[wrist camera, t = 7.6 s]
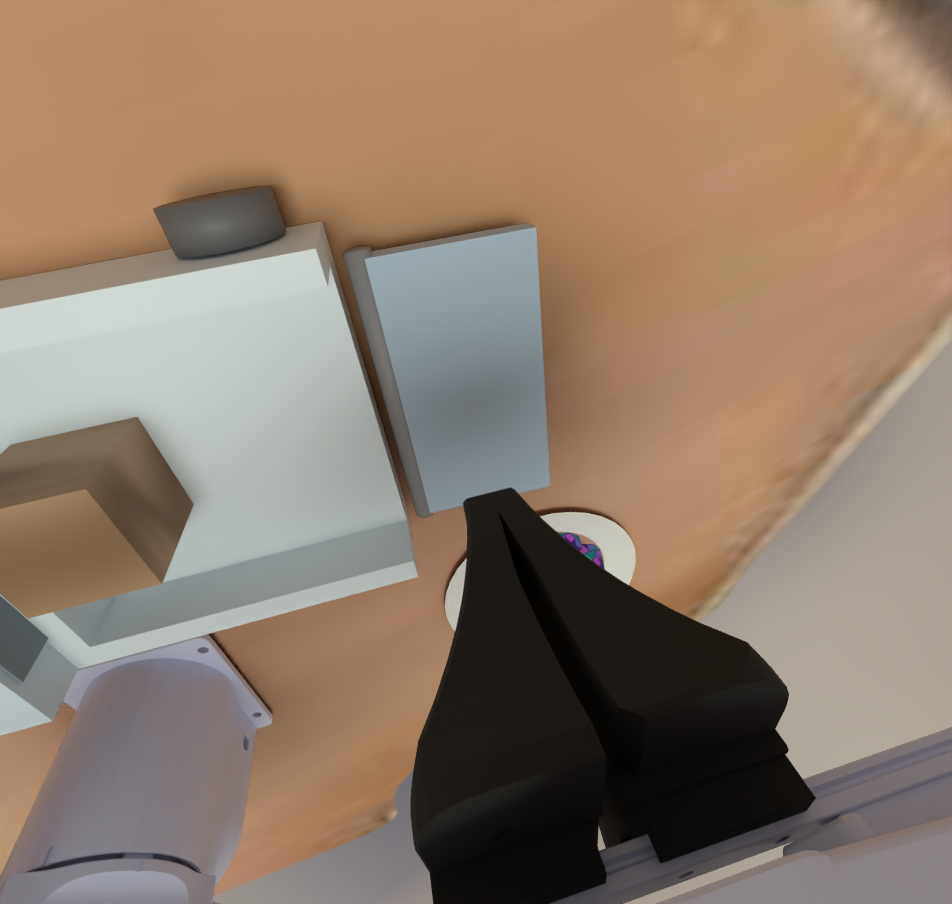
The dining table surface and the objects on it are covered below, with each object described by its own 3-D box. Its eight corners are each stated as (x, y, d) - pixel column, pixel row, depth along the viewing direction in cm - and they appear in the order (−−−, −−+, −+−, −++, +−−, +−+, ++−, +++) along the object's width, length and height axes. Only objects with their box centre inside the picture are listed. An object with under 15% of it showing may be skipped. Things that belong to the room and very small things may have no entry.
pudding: (596, 633, 34) (632, 704, 30) (430, 649, 31) (444, 732, 27) (657, 502, 28) (713, 568, 24) (459, 504, 25) (483, 582, 20)
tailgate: (343, 248, 16) (341, 256, 15) (526, 214, 16) (535, 220, 15) (414, 503, 22) (416, 519, 21) (543, 474, 23) (550, 489, 22)
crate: (193, 504, 18) (161, 584, 15) (84, 530, 18) (28, 618, 15) (137, 416, 16) (85, 489, 13) (10, 444, 16) (-77, 526, 12)
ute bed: (412, 526, 24) (431, 636, 19) (2, 632, 22) (-103, 788, 17) (309, 176, 15) (290, 201, 10) (-402, 300, 13) (-900, 416, 8)
